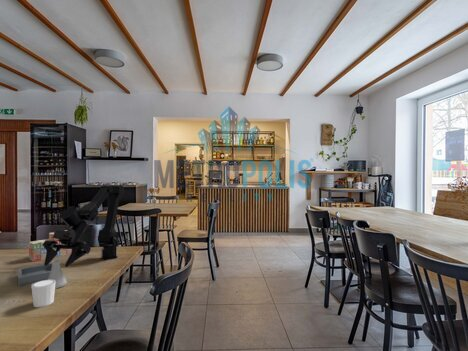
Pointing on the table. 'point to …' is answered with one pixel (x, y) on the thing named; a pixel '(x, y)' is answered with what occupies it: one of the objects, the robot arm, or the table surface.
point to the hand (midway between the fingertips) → (55, 266)
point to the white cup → (43, 292)
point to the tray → (33, 274)
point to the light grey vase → (57, 274)
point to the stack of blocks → (39, 251)
